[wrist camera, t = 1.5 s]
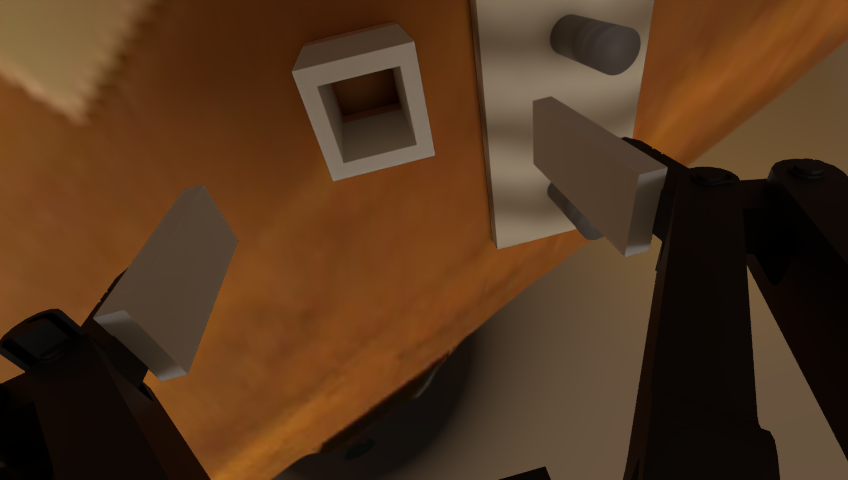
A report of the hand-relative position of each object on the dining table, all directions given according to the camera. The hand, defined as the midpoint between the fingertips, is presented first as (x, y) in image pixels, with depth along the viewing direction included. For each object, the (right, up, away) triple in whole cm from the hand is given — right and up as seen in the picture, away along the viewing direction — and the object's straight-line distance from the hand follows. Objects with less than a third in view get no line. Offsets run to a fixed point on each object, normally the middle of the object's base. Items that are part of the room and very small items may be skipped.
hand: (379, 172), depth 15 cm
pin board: (+12, +7, +15) cm, 21 cm away
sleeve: (-2, +8, +11) cm, 14 cm away
